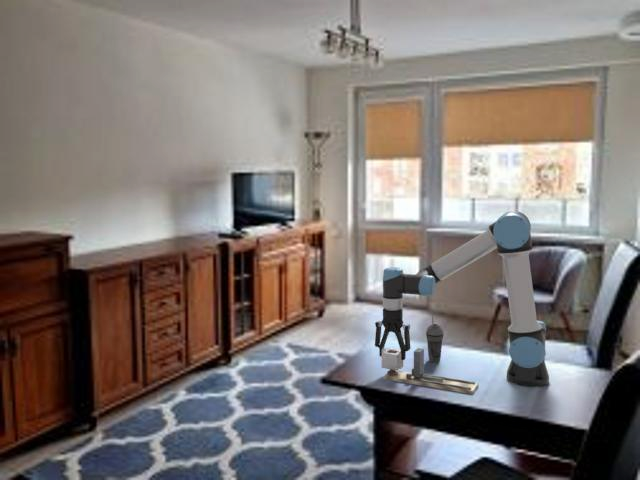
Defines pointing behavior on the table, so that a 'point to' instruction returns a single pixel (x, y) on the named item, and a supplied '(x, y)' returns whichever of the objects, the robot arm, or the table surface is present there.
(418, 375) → the grey l-shaped block
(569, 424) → the table surface
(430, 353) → the beverage cup
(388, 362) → the link
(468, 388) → the board
